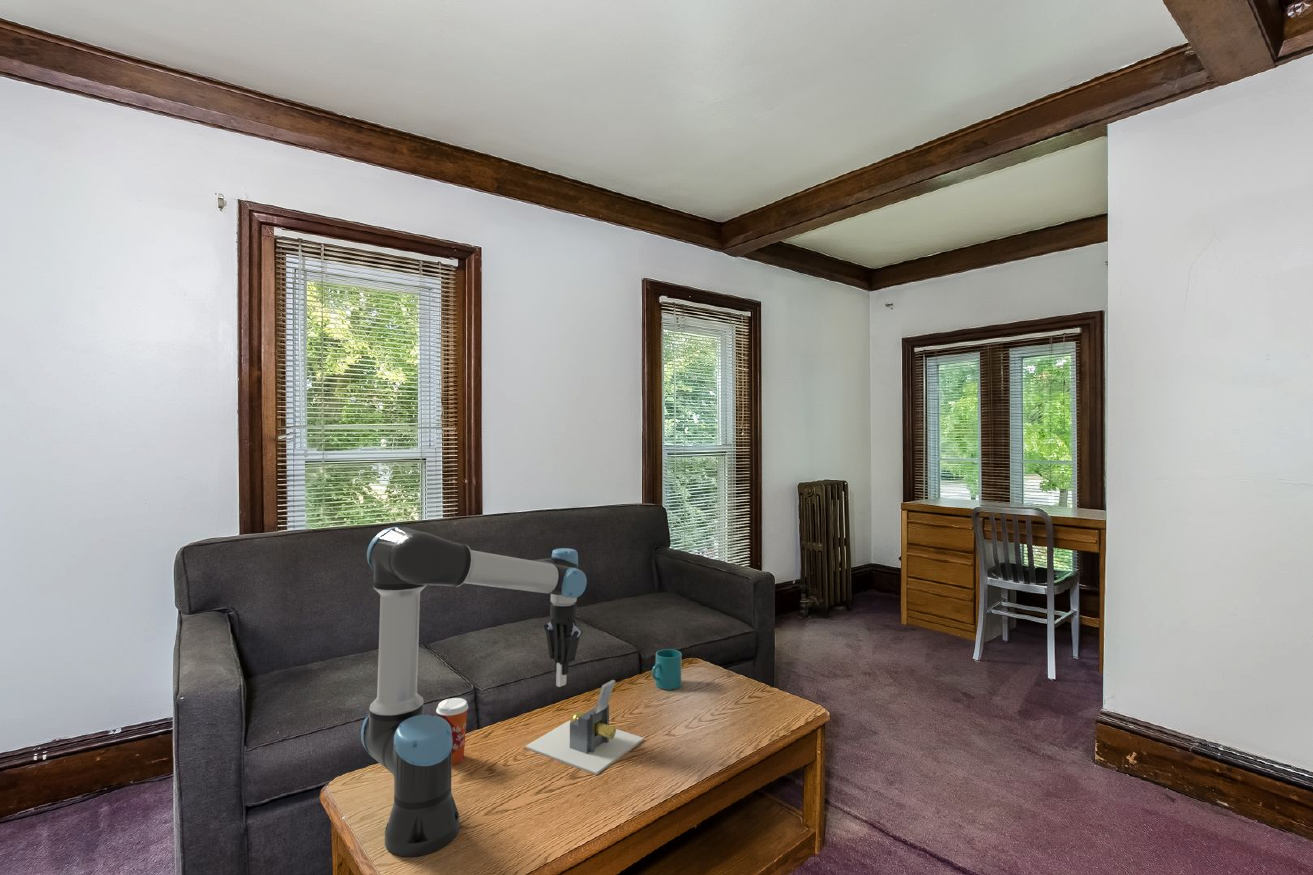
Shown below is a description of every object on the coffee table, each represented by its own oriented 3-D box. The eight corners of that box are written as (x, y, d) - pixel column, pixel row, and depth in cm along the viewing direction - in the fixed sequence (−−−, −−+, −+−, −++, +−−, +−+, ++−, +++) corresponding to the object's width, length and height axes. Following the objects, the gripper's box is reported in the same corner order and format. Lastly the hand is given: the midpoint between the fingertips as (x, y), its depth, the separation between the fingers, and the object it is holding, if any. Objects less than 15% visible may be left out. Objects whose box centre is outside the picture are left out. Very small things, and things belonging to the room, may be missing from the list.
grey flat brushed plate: (593, 712, 168) (602, 685, 166) (604, 705, 172) (613, 679, 170) (595, 713, 167) (604, 687, 166) (606, 707, 172) (615, 681, 170)
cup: (643, 686, 213) (644, 654, 213) (669, 678, 221) (669, 647, 221) (660, 695, 206) (660, 661, 206) (686, 686, 214) (686, 653, 214)
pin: (569, 733, 172) (570, 715, 172) (581, 726, 176) (581, 708, 177) (606, 746, 165) (606, 727, 165) (618, 738, 170) (618, 719, 170)
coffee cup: (458, 769, 159) (458, 711, 159) (429, 765, 160) (429, 708, 160) (474, 753, 167) (474, 698, 167) (446, 749, 169) (447, 695, 169)
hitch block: (569, 747, 169) (569, 710, 169) (592, 733, 177) (592, 697, 177) (589, 754, 165) (589, 716, 165) (611, 739, 174) (611, 703, 174)
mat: (596, 774, 156) (596, 772, 156) (525, 748, 170) (525, 745, 170) (643, 739, 175) (643, 737, 175) (576, 718, 188) (576, 716, 188)
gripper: (589, 603, 177) (587, 686, 176) (555, 597, 184) (553, 676, 183) (572, 608, 171) (569, 694, 170) (538, 601, 178) (535, 683, 177)
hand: (561, 684), depth 177 cm, fingers closed
